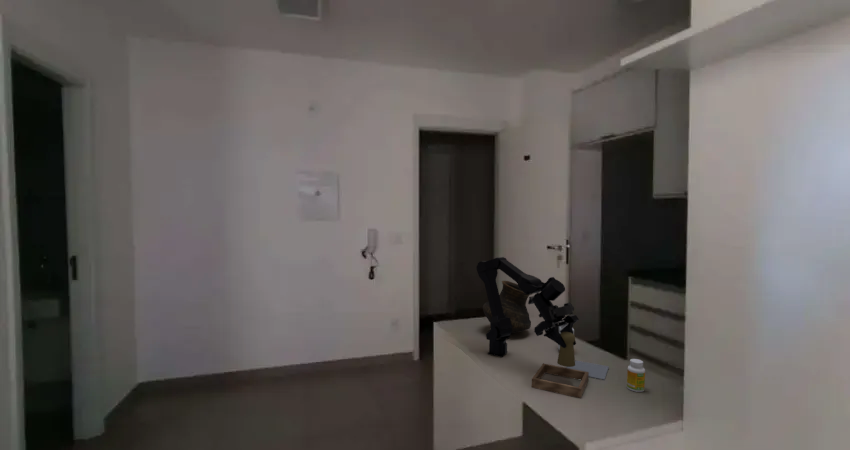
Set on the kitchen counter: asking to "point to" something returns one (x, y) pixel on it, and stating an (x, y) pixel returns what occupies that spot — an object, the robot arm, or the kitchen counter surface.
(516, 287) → the ceramic pot
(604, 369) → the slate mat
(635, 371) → the supplement bottle
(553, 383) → the walnut frame
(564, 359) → the cork
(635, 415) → the kitchen counter surface
